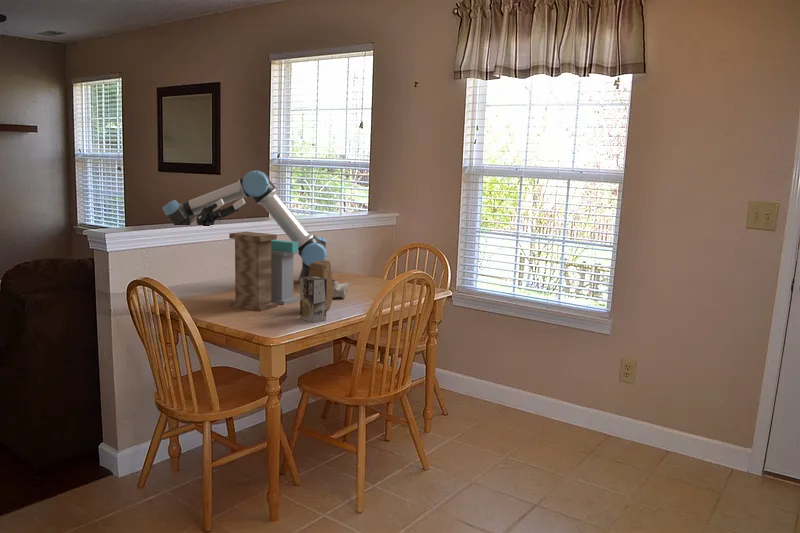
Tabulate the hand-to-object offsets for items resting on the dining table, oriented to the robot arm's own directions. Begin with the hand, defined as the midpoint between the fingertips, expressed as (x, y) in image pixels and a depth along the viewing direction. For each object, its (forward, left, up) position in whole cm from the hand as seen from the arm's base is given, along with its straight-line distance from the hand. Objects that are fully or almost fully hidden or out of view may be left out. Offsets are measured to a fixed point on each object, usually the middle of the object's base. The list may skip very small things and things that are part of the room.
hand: (233, 200), depth 272 cm
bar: (-14, +14, -20) cm, 28 cm away
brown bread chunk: (-32, +38, -42) cm, 65 cm away
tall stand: (-6, +28, -42) cm, 51 cm away
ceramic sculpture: (-41, +17, -42) cm, 61 cm away
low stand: (-17, +17, -42) cm, 48 cm away
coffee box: (-26, +54, -42) cm, 73 cm away
